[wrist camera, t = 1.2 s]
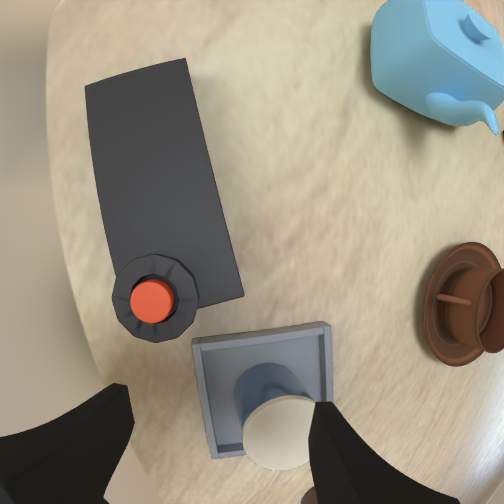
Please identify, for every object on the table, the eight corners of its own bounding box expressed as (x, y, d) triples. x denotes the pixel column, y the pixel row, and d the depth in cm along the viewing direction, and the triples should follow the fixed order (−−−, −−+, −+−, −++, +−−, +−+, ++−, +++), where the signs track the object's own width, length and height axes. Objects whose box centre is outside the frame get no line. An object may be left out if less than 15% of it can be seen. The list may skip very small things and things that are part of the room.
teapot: (355, 146, 25) (439, 91, 14) (361, 6, 26) (408, -59, 14) (459, 185, 27) (547, 163, 16) (449, 49, 28) (507, 7, 16)
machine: (244, 306, 24) (253, 318, 20) (140, 333, 23) (127, 349, 18) (186, 74, 23) (184, 44, 19) (92, 100, 22) (75, 75, 18)
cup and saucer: (412, 375, 26) (452, 397, 20) (410, 248, 26) (457, 247, 20) (490, 344, 28) (528, 356, 22) (491, 238, 28) (533, 236, 22)
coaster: (301, 520, 25) (302, 523, 24) (300, 485, 25) (301, 488, 24) (354, 506, 26) (355, 508, 25) (357, 470, 26) (359, 472, 25)
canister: (236, 425, 23) (247, 477, 16) (228, 366, 23) (237, 407, 16) (301, 414, 24) (330, 460, 17) (298, 356, 24) (330, 391, 17)
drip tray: (210, 448, 24) (211, 459, 22) (192, 337, 23) (191, 344, 22) (326, 428, 25) (333, 437, 23) (323, 320, 25) (331, 325, 23)
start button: (178, 312, 19) (176, 318, 18) (142, 321, 19) (136, 327, 17) (168, 274, 19) (164, 276, 18) (131, 284, 19) (124, 287, 17)
